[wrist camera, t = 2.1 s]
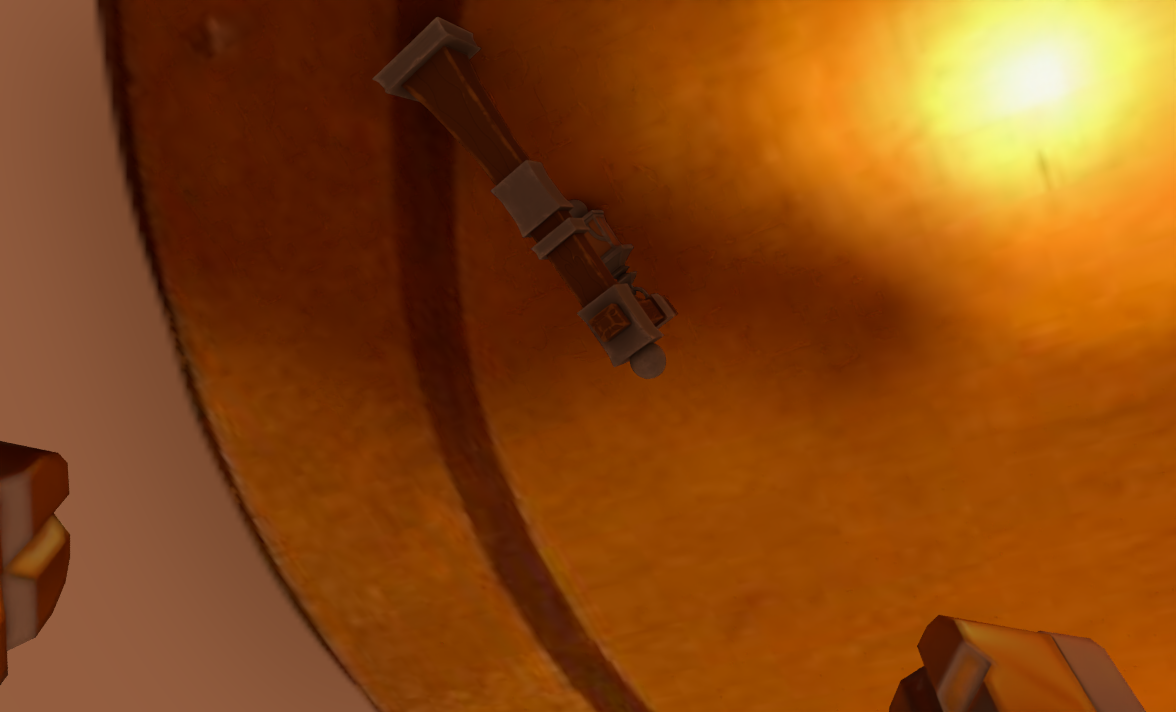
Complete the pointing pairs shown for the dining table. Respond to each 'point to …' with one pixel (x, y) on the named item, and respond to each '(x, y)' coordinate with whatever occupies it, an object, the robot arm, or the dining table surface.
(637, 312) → the brown buckled strap
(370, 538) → the dining table surface
